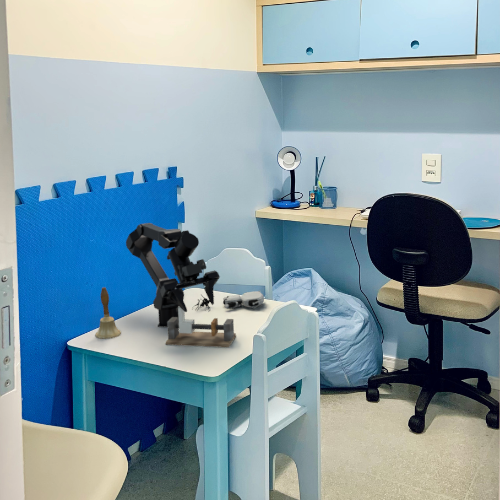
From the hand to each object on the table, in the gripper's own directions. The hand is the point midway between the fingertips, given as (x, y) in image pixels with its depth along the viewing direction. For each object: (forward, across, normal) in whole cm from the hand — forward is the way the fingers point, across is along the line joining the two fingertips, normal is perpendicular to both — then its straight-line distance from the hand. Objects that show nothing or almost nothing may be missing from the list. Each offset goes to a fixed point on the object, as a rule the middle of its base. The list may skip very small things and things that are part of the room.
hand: (199, 307), depth 200 cm
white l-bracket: (+4, -4, +7) cm, 9 cm away
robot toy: (-5, +28, +28) cm, 40 cm away
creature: (-9, +14, +31) cm, 35 cm away
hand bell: (-7, -24, +24) cm, 34 cm away
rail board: (+8, -1, +7) cm, 11 cm away
